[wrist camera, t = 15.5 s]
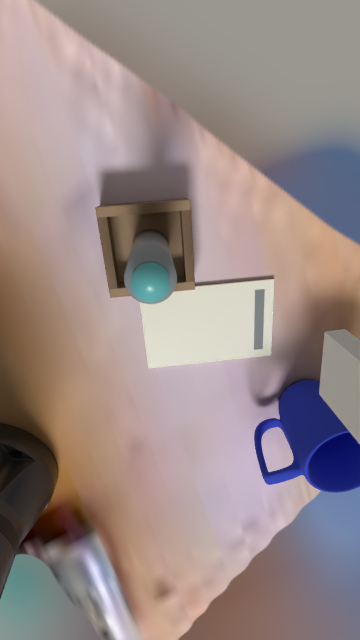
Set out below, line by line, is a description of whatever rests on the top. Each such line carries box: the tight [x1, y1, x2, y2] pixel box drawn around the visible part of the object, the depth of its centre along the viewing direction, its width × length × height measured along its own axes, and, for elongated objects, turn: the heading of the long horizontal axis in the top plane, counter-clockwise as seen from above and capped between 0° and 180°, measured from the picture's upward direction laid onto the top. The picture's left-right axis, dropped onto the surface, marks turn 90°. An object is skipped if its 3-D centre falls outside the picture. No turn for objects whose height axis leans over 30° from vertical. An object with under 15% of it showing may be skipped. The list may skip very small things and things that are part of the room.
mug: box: [254, 380, 360, 493], centre depth 36 cm, size 8×12×10 cm
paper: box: [140, 279, 274, 368], centre depth 35 cm, size 14×9×1 cm, turn 94°
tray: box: [95, 198, 195, 298], centre depth 30 cm, size 8×8×3 cm
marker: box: [124, 229, 177, 304], centre depth 26 cm, size 3×3×12 cm
